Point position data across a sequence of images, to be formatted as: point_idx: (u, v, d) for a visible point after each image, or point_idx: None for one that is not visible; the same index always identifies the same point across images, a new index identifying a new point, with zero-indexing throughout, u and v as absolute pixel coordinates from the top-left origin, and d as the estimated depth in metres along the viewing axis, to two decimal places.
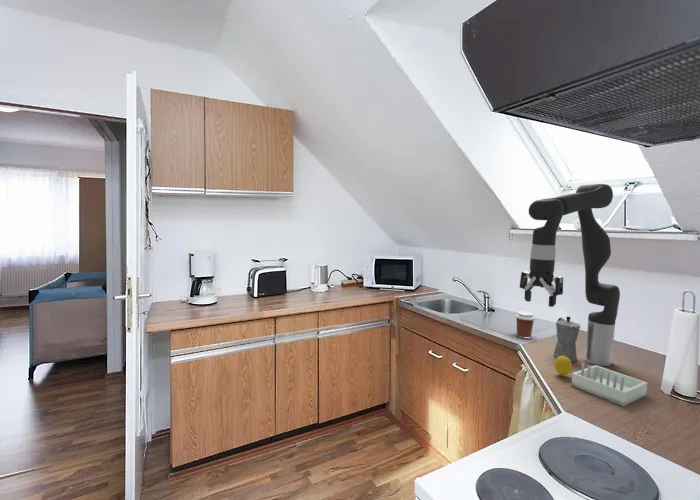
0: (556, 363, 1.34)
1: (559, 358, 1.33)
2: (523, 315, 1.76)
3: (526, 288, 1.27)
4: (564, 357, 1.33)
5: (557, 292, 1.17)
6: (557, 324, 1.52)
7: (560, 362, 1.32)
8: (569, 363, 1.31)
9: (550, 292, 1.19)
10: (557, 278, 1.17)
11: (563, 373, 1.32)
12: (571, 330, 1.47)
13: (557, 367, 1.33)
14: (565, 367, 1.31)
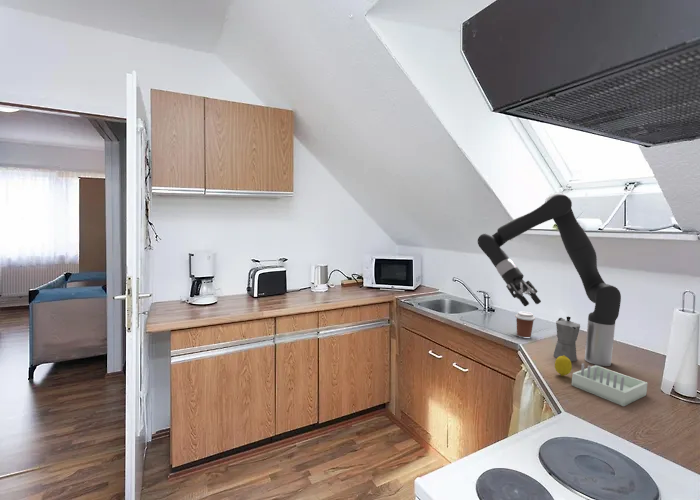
0: (556, 363, 1.34)
1: (559, 358, 1.33)
2: (523, 315, 1.76)
3: None
4: (564, 357, 1.33)
5: None
6: (557, 324, 1.52)
7: (560, 362, 1.32)
8: (569, 363, 1.31)
9: None
10: None
11: (563, 373, 1.32)
12: (571, 330, 1.47)
13: (557, 367, 1.33)
14: (565, 367, 1.31)
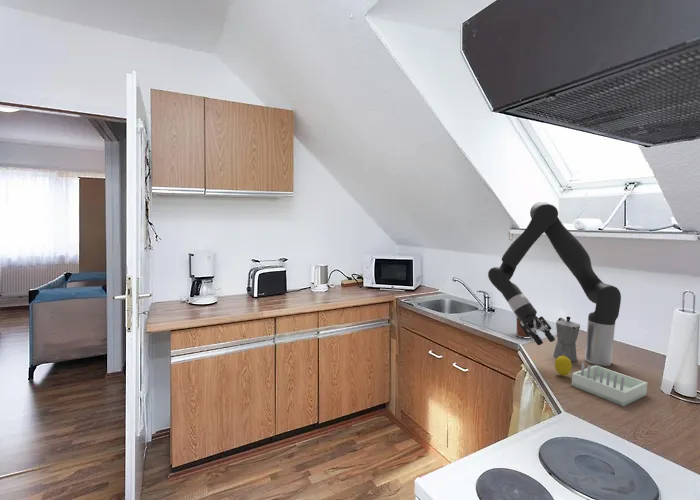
0: (556, 363, 1.34)
1: (559, 358, 1.33)
2: None
3: None
4: (564, 357, 1.33)
5: None
6: (557, 324, 1.52)
7: (560, 362, 1.32)
8: (569, 363, 1.31)
9: None
10: None
11: (563, 373, 1.32)
12: (571, 330, 1.47)
13: (557, 367, 1.33)
14: (565, 367, 1.31)
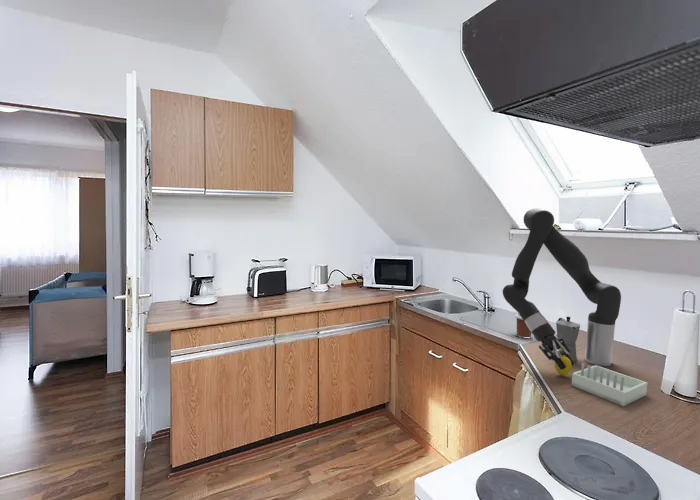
0: None
1: None
2: None
3: None
4: (564, 357, 1.33)
5: None
6: (557, 324, 1.52)
7: None
8: (569, 363, 1.31)
9: None
10: (539, 346, 1.35)
11: (563, 373, 1.32)
12: (571, 330, 1.47)
13: (557, 367, 1.33)
14: None
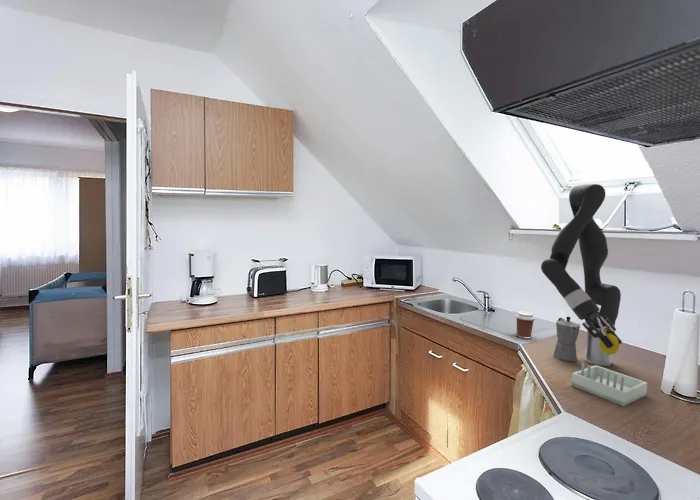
0: (602, 342, 1.24)
1: None
2: (523, 315, 1.76)
3: None
4: (611, 335, 1.23)
5: None
6: (557, 324, 1.52)
7: None
8: (616, 341, 1.22)
9: None
10: (583, 324, 1.26)
11: (610, 352, 1.23)
12: (571, 330, 1.47)
13: (603, 346, 1.24)
14: None
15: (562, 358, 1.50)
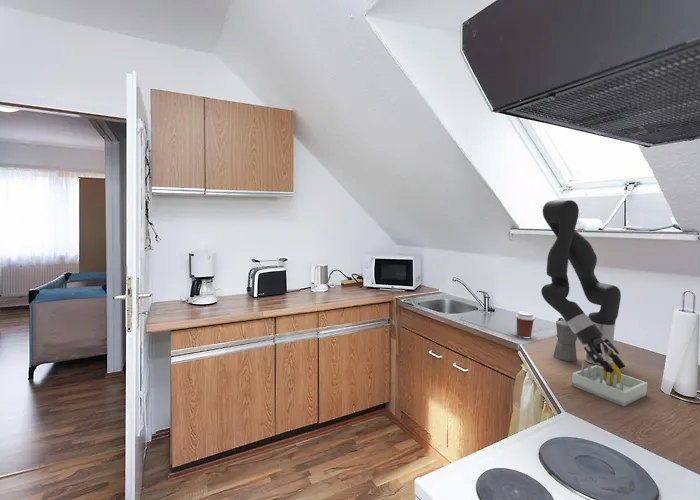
0: (604, 372, 1.24)
1: None
2: (523, 315, 1.76)
3: None
4: (613, 365, 1.23)
5: None
6: (557, 324, 1.52)
7: None
8: (619, 372, 1.22)
9: None
10: None
11: (612, 383, 1.22)
12: (571, 330, 1.47)
13: (605, 376, 1.23)
14: None
15: (562, 358, 1.50)
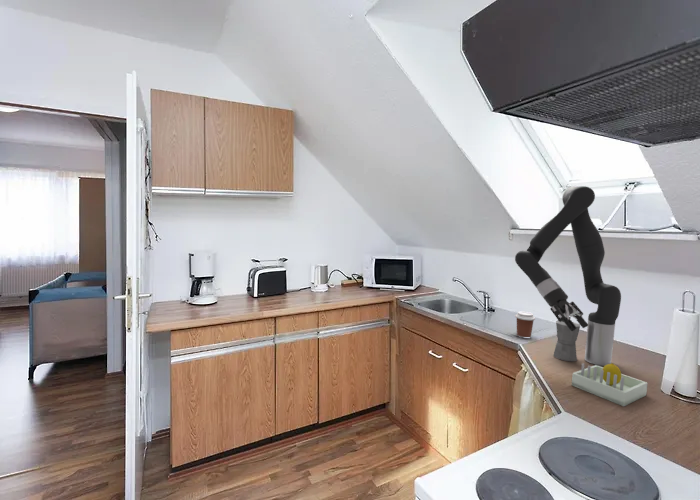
0: (604, 372, 1.24)
1: (607, 366, 1.24)
2: (523, 315, 1.76)
3: None
4: (613, 365, 1.23)
5: None
6: (557, 324, 1.52)
7: (609, 371, 1.23)
8: (619, 372, 1.22)
9: None
10: None
11: (612, 383, 1.22)
12: None
13: (605, 376, 1.23)
14: None
15: (562, 358, 1.50)
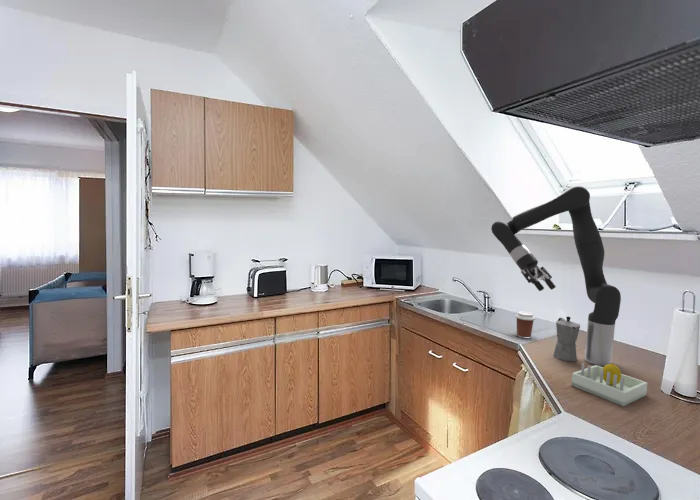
0: (604, 372, 1.24)
1: (607, 366, 1.24)
2: (523, 315, 1.76)
3: None
4: (613, 365, 1.23)
5: None
6: (557, 324, 1.52)
7: (609, 371, 1.23)
8: (619, 372, 1.22)
9: None
10: None
11: (612, 383, 1.22)
12: (571, 330, 1.47)
13: (605, 376, 1.23)
14: None
15: (562, 358, 1.50)
